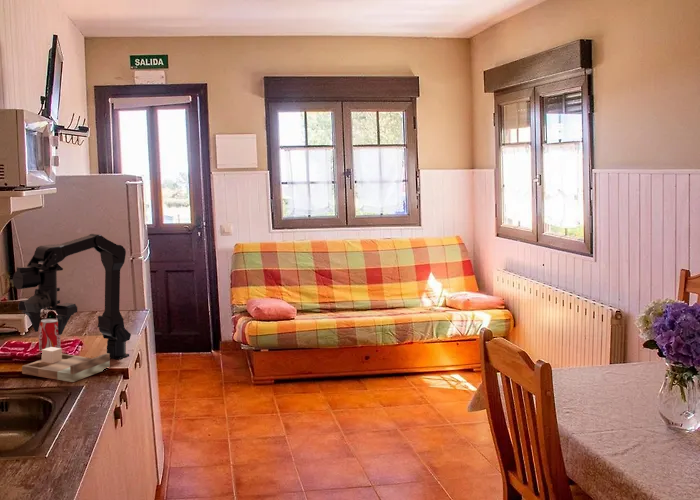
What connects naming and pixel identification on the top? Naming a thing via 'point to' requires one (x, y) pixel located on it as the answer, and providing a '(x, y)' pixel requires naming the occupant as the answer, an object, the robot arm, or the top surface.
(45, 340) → the soda can
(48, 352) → the block
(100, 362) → the board
